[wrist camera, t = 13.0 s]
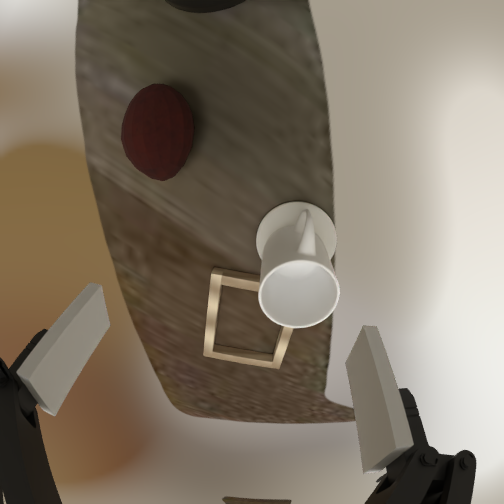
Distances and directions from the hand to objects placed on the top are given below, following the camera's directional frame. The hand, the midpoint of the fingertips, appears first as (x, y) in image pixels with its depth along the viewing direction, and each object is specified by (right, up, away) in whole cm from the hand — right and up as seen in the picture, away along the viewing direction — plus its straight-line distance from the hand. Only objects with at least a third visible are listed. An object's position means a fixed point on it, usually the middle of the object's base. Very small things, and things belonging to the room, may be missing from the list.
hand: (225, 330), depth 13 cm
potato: (-9, +20, +21) cm, 30 cm away
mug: (+7, +5, +25) cm, 27 cm away
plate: (+7, +5, +26) cm, 27 cm away
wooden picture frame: (+1, -7, +32) cm, 33 cm away
